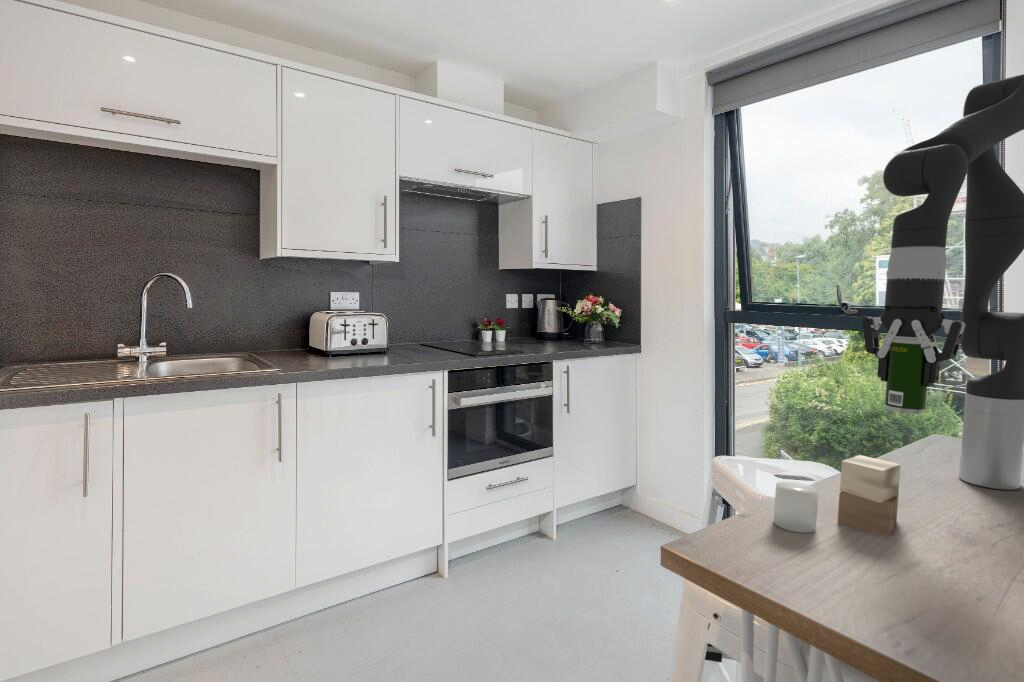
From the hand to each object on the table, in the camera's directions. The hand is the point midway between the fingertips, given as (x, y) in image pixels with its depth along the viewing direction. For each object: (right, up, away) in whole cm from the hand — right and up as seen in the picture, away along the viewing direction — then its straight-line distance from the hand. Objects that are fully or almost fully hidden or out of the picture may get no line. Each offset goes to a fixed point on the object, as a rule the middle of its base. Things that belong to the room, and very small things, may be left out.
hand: (906, 383), depth 92 cm
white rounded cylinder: (-19, -22, -1) cm, 29 cm away
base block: (-6, -23, 0) cm, 23 cm away
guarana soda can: (0, -5, 0) cm, 5 cm away
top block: (-6, -18, 0) cm, 19 cm away
